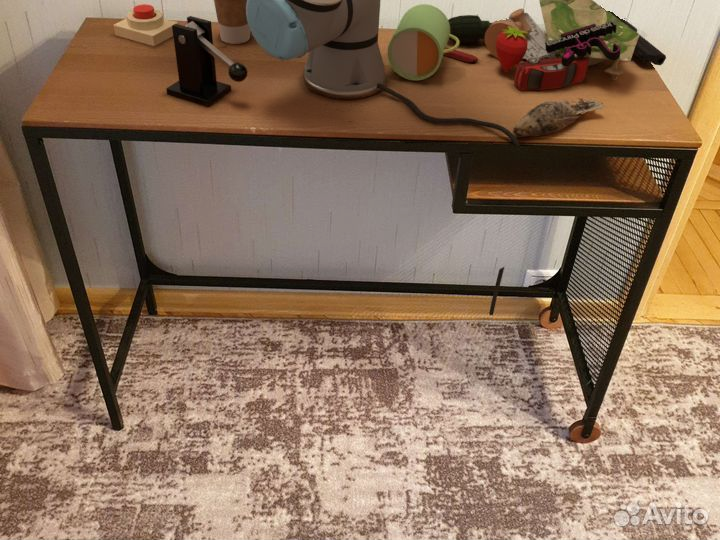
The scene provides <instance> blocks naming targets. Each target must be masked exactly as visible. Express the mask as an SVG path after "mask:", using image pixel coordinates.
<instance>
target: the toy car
mask: <svg viewBox="0 0 720 540" xmlns="http://www.w3.org/2000/svg"><path fill="white" fill-rule="evenodd" d="M588 63H589V58H588V57H579V56H574V60H573V62H572V63H571V64H570V65H569V66H563V65H562V56H561V57H559V58H557V57H556V58H549V59H539V60H538V59H535V58H529V59H528V60H525V61H522V62H519V63H518V64H517V65H516V66H517V67H516V70H515V73H514V82H513V85H514V86H515V87H517V89H519V90H520V91H525V90H526V91H527V90H530V91H531V90H535V91H539V90H551V89H560V88H564V87H567V86H570V85H574V84H578V83H581V82H583V81H584V79H585V77H586V73H587V71H588V67H589V66H588Z"/></svg>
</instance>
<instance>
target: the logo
mask: <svg viewBox="0 0 720 540" xmlns="http://www.w3.org/2000/svg"><path fill="white" fill-rule="evenodd" d="M612 31H613V32H614V33H616V23H615V22H613V21H611V22H609V23H606V24H602V25H601V26H600V25H599V26H596V24H591V25H588V26H585V27H582V28H580V29H576V30H573V31H570V32H567V33H564V34H561V38H559V39H555V40H552V41H549V42H546V51H547V53H551V52H554V51H556V50H560V49H564V48H565V47H568V48H566V51H565V52H564V55H561V57H562V65H563V66H569V65H570V64H571V63H572V62H573V60H574V54H576V55H577V56H579V57H583V56H586V54H587V53H588V54H589V55H591V47H593V46H597V47H599V49H600V50H601V51H602V53H603V54H604V55H605V57H606V58H607V59H606V60H609V61H614V60H617V59H618V58H619V57H620V46H619V45H617V44H613V51H611V50H610V49H609V48H608V47H607V46H606V44H605V43H604V42H603V41H602V39H600V38H598V37H600V36H606V35H607V34H612ZM590 37H591V38H590ZM581 42H583V43H581ZM573 45H574V46H573Z"/></svg>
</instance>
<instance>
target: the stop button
mask: <svg viewBox="0 0 720 540" xmlns="http://www.w3.org/2000/svg"><path fill="white" fill-rule="evenodd" d="M154 9H155V7H154V6H153V5H151V4H147V3H146V4H138V5H135V6H134V7H133V8H132V11H133V10H134V17H135V18H137V19H151V18H153V17H155V12H154Z"/></svg>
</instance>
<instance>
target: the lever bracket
mask: <svg viewBox="0 0 720 540" xmlns="http://www.w3.org/2000/svg"><path fill="white" fill-rule="evenodd" d="M192 21H193V22H194V23H195V24H197V25H198V26H199V27H200V28H201V29H203V30H204V31H205V33H204V35H203V37H204V38H205V39H206V40H207V41H209V42H210V43H211V44H212V45H213V46H214V37H213V25H212V21H211V20H208V19H203V18H200V17H196V16H192V15H189V16H187V17H186V24H188V23H190V22H192ZM172 30H173V36H172V37H173V45H174V52H175V59H176V68H177V75H178V80H177V81H176V82H174V83H172V84H171V85H169V86H168V87H166V94H167V96H171V97H174V98H178V99H181V100H185V101H187V102H190V103H194V104H197V105H200V106H204V107H206V108H209V107H211V106H212V105H214V104H215V103H217V102H218V101H219V100H221V99H223V98H224V97H225V96H227V95H228V94H230V93H231V92H232V85H231V84H227V83H224V82H221V81H219V80H217V71H216V70H217V69H216V58H214V57H213V56H212V55H211V54H210V53H209V52H207V51H206V50H205V49H204V48H203V47H201V46H200V45H199V44H198V35H197V29H194V28H190V27H186V26H185V25H182V24H179V23H178V24H174V25H172Z"/></svg>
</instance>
